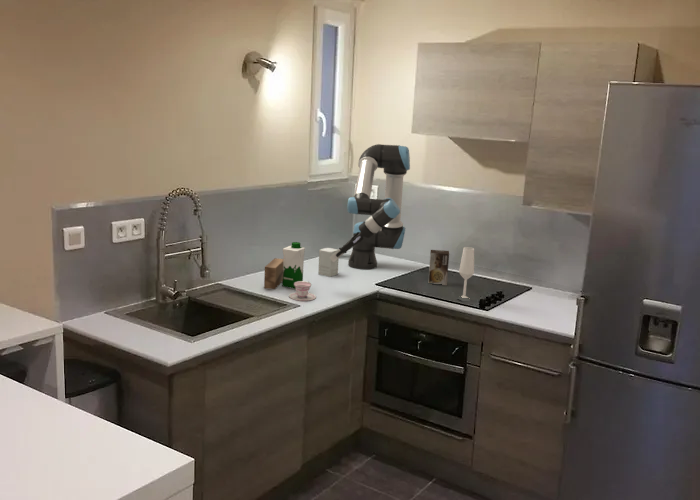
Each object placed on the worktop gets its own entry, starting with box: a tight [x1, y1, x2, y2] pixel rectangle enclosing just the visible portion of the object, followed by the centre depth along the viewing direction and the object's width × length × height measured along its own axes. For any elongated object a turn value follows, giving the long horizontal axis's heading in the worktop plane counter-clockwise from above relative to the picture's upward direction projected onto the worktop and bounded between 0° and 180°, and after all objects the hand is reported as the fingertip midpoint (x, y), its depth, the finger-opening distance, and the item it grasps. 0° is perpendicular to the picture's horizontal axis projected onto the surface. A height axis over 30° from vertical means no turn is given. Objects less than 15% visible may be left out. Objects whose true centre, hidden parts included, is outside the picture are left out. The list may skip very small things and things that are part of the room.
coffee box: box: [427, 249, 450, 286], centre depth 341 cm, size 9×6×16 cm
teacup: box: [288, 280, 317, 302], centre depth 308 cm, size 12×12×6 cm
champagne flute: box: [458, 246, 475, 298], centre depth 316 cm, size 7×7×24 cm
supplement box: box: [318, 247, 340, 277], centre depth 347 cm, size 7×7×13 cm
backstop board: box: [263, 257, 284, 290], centre depth 325 cm, size 5×17×10 cm, turn 171°
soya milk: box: [281, 241, 306, 290], centre depth 322 cm, size 9×9×20 cm
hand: (331, 259), depth 319 cm, fingers closed
